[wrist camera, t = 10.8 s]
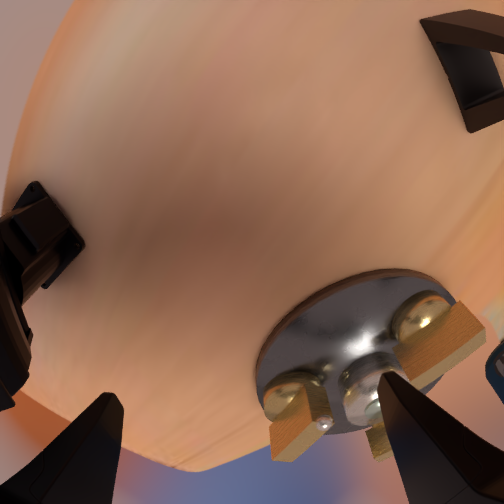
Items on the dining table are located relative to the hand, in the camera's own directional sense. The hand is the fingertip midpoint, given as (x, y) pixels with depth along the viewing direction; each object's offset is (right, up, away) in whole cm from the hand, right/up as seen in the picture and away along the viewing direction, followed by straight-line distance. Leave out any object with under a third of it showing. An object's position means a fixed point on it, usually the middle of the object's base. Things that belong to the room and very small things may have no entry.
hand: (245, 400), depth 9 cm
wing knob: (+4, -7, +15) cm, 17 cm away
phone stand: (+16, +18, +6) cm, 25 cm away
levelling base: (+11, -6, +16) cm, 20 cm away
